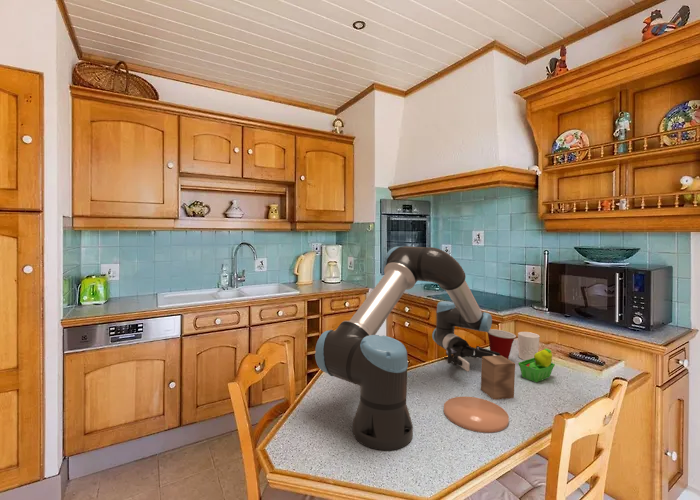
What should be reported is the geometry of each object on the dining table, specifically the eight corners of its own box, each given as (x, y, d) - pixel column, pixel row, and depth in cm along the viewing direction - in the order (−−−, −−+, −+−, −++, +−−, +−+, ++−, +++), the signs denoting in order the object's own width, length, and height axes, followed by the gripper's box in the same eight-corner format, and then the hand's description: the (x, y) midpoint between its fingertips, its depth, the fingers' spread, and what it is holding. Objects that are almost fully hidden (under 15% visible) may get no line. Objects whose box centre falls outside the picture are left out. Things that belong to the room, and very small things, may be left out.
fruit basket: (534, 370, 129) (535, 340, 128) (558, 379, 121) (560, 347, 121) (516, 376, 123) (517, 345, 122) (541, 386, 115) (542, 353, 115)
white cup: (539, 357, 143) (540, 333, 142) (538, 363, 136) (539, 338, 136) (518, 353, 147) (519, 330, 146) (516, 359, 140) (517, 335, 140)
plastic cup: (518, 368, 131) (519, 337, 130) (488, 365, 133) (489, 335, 132) (511, 358, 141) (512, 329, 141) (483, 356, 143) (484, 327, 143)
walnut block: (493, 399, 105) (494, 364, 105) (480, 389, 112) (481, 356, 111) (513, 398, 106) (515, 363, 106) (500, 388, 113) (501, 355, 113)
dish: (462, 435, 86) (462, 430, 86) (433, 402, 103) (434, 398, 103) (522, 429, 89) (523, 424, 89) (485, 398, 106) (485, 394, 106)
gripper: (484, 353, 139) (519, 374, 118) (426, 356, 134) (452, 379, 113) (484, 335, 139) (520, 353, 118) (426, 337, 134) (452, 357, 113)
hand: (486, 366), depth 116 cm, fingers open, 13 cm apart
